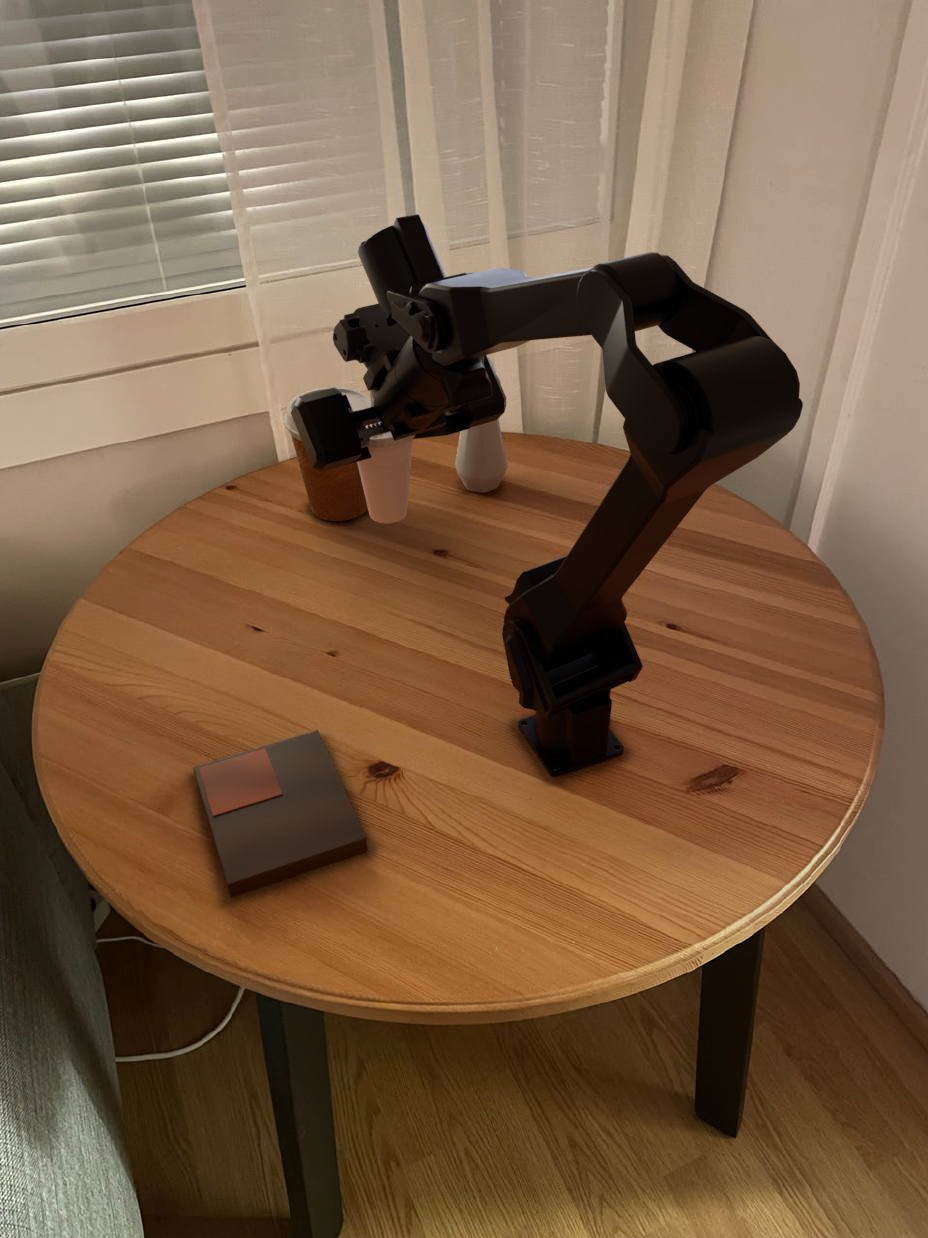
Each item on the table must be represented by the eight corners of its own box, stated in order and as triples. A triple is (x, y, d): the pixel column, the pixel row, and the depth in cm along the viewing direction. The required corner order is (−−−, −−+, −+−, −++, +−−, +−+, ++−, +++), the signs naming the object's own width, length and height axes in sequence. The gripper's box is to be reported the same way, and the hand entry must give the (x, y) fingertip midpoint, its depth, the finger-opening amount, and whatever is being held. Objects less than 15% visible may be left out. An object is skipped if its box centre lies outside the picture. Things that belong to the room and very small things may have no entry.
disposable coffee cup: (289, 492, 112) (275, 392, 105) (372, 478, 114) (364, 379, 107) (304, 536, 105) (290, 433, 97) (393, 520, 107) (386, 418, 100)
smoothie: (345, 506, 100) (331, 373, 91) (404, 490, 102) (395, 359, 93) (371, 537, 95) (358, 400, 87) (431, 520, 97) (425, 385, 89)
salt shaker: (509, 471, 115) (510, 364, 107) (505, 497, 110) (507, 387, 102) (458, 469, 115) (455, 362, 107) (452, 495, 111) (450, 386, 103)
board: (367, 851, 72) (366, 837, 71) (230, 898, 69) (226, 883, 68) (319, 742, 81) (317, 728, 80) (196, 780, 78) (192, 765, 77)
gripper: (489, 261, 85) (430, 343, 99) (284, 306, 78) (253, 388, 92) (539, 381, 84) (473, 446, 99) (337, 438, 77) (297, 500, 91)
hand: (376, 442), depth 95 cm, fingers closed on smoothie, 6 cm apart
